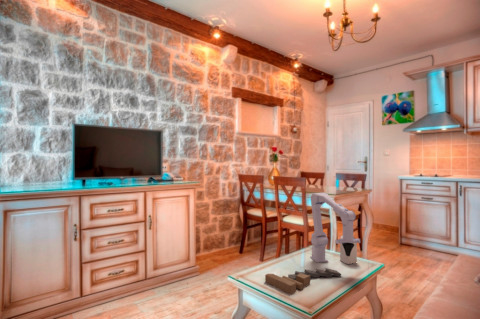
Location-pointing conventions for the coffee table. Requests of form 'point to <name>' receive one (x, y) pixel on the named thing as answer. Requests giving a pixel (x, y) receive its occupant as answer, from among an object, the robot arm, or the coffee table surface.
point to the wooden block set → (288, 282)
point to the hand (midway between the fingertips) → (347, 255)
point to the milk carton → (353, 255)
